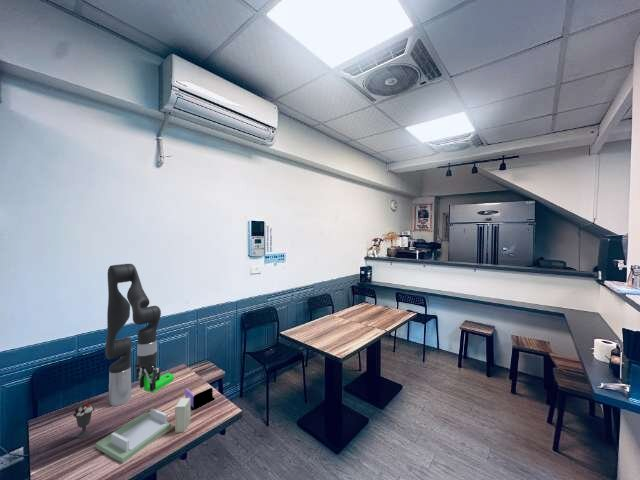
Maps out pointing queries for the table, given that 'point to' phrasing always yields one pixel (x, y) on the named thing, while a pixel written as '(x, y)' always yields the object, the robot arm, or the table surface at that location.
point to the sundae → (83, 419)
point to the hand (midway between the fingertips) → (147, 388)
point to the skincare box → (182, 414)
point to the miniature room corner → (199, 398)
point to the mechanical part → (158, 382)
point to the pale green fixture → (134, 435)
